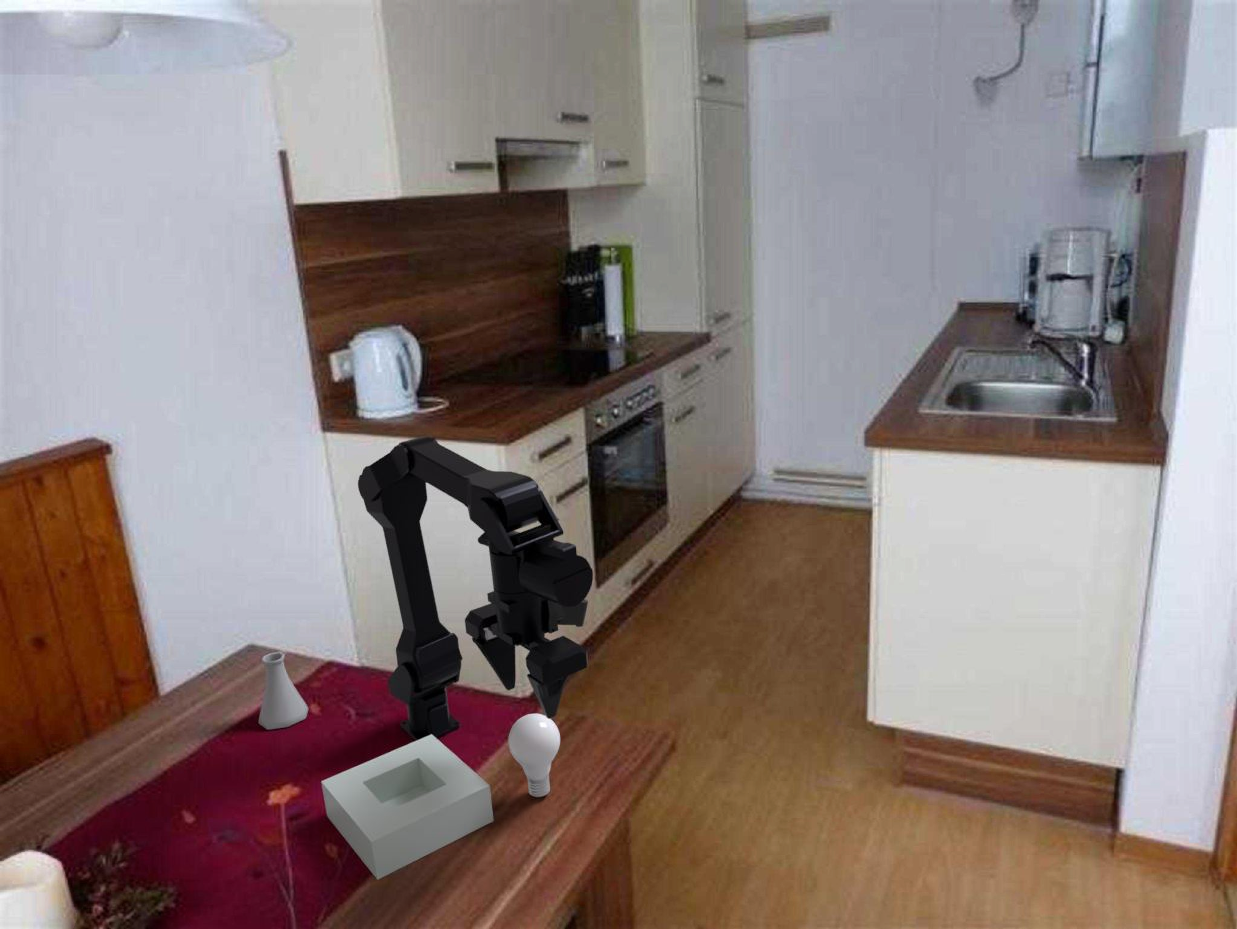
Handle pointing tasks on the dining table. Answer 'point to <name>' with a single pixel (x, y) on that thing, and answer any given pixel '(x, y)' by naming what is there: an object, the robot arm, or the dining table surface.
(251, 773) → the dining table surface
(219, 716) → the dining table surface
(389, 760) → the socket block
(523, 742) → the lightbulb
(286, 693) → the flask
